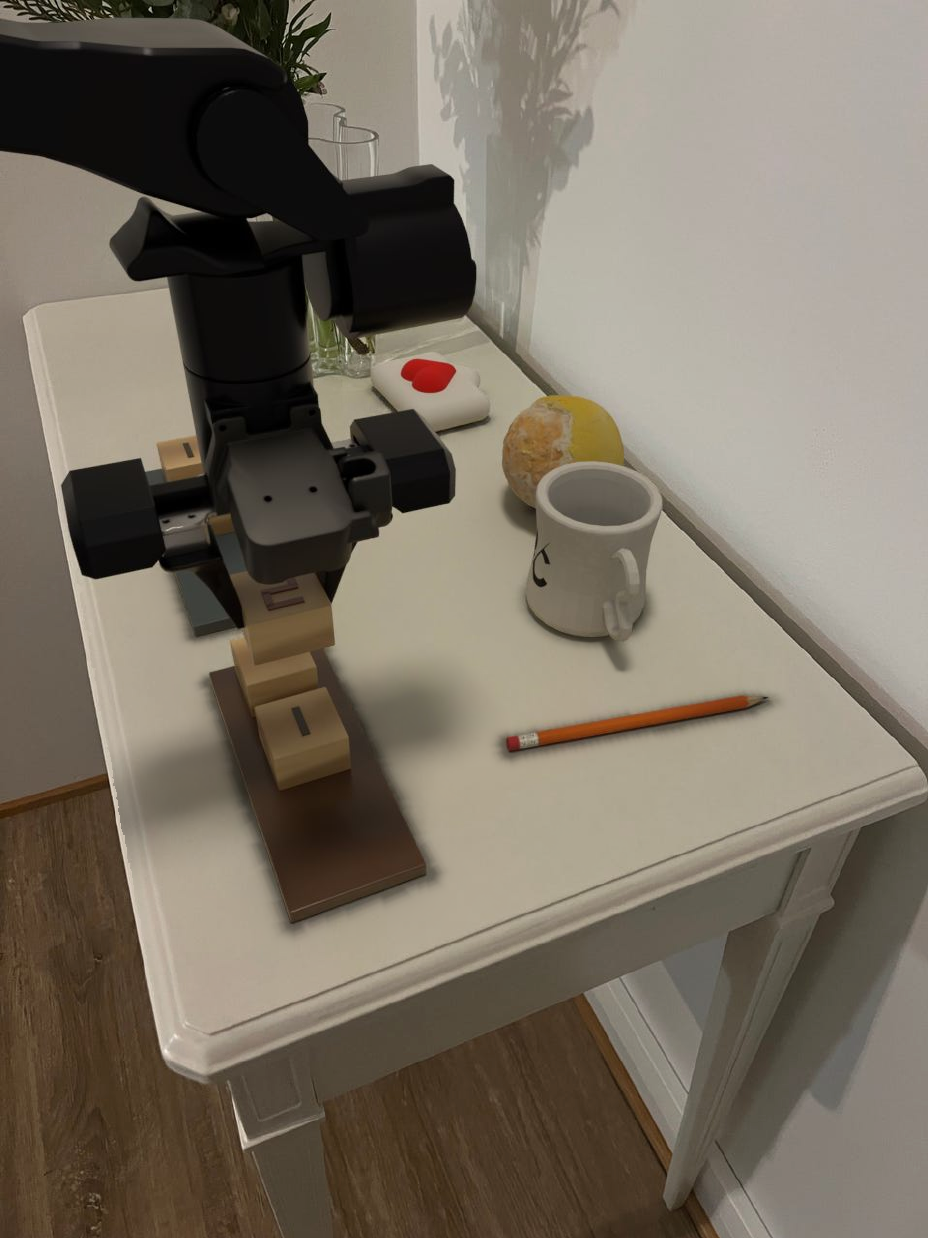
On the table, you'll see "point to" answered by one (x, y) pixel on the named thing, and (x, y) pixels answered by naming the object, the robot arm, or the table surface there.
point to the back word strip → (198, 590)
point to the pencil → (630, 721)
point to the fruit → (557, 441)
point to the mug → (592, 548)
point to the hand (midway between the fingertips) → (282, 613)
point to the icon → (432, 389)
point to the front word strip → (313, 782)
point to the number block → (284, 616)
